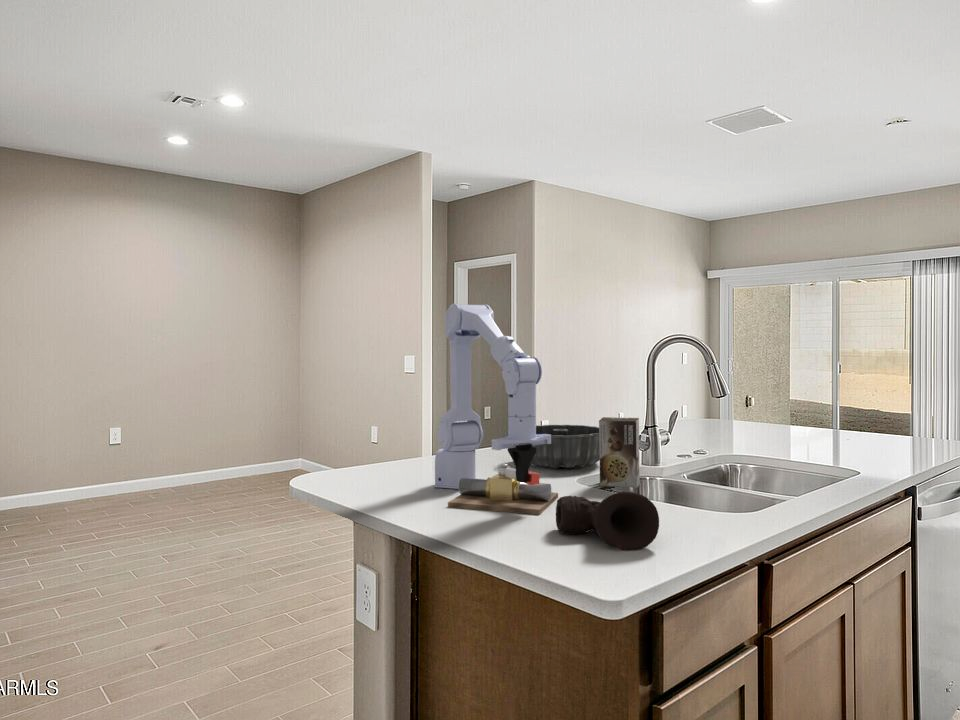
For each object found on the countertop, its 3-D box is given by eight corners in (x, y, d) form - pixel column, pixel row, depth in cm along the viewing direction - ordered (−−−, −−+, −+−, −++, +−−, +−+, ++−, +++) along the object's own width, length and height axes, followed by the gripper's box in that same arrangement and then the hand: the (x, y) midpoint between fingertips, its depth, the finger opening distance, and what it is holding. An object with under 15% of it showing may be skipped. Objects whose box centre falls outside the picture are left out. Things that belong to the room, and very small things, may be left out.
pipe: (554, 486, 128) (573, 489, 113) (631, 489, 130) (660, 493, 115) (553, 539, 127) (572, 549, 112) (631, 542, 128) (660, 552, 113)
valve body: (457, 498, 149) (457, 476, 149) (465, 493, 153) (465, 471, 153) (546, 505, 142) (546, 482, 142) (552, 500, 147) (552, 477, 146)
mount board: (448, 506, 144) (448, 502, 143) (474, 491, 159) (474, 486, 159) (539, 514, 137) (539, 509, 137) (558, 497, 152) (558, 492, 152)
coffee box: (640, 483, 166) (640, 417, 166) (637, 488, 160) (637, 420, 160) (602, 480, 169) (602, 416, 169) (598, 486, 163) (598, 419, 163)
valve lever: (496, 476, 148) (496, 464, 148) (505, 474, 149) (505, 462, 149) (530, 485, 138) (530, 472, 138) (540, 483, 140) (540, 471, 140)
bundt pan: (507, 457, 205) (507, 424, 205) (592, 454, 208) (592, 422, 208) (523, 474, 179) (523, 436, 178) (620, 471, 182) (620, 434, 181)
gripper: (507, 420, 132) (507, 489, 132) (561, 415, 141) (561, 480, 141) (485, 417, 138) (485, 483, 138) (538, 412, 147) (538, 475, 147)
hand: (522, 481), depth 140 cm, fingers closed, pressing on valve lever
